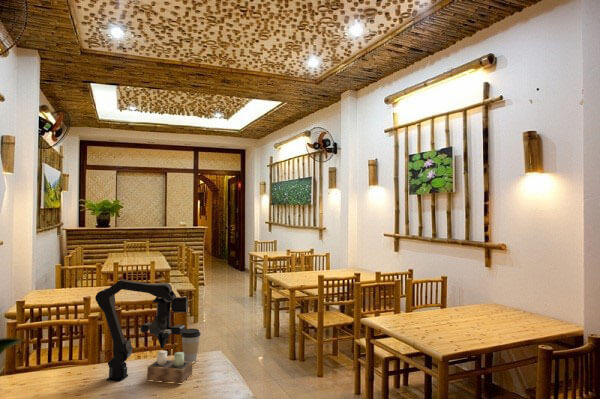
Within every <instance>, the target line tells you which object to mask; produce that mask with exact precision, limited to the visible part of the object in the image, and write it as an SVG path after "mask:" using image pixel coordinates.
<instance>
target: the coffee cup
mask: <svg viewBox="0 0 600 399" xmlns="http://www.w3.org/2000/svg"><path fill="white" fill-rule="evenodd" d="M201 335H202V334H201V332H200V329H198V328H185V332H183V333H182V334H180V337H181V338H182V340H181V345H182V352H183V353H184V361H188V362H193V361H196V362H197V358H198V351H199V345H200V337H201Z"/></svg>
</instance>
